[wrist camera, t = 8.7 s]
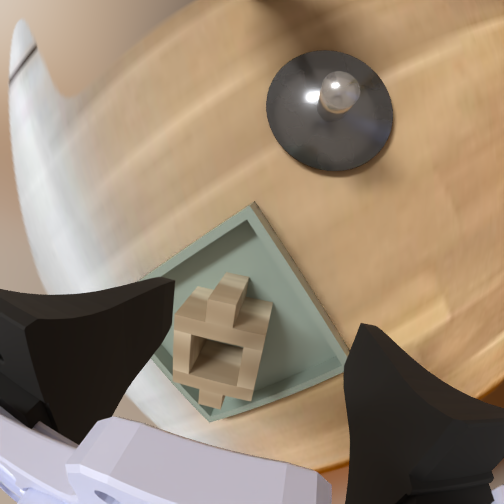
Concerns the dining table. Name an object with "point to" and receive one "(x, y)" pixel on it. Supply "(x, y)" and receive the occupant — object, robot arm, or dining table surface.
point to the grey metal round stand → (329, 110)
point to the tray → (263, 288)
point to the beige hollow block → (224, 330)
